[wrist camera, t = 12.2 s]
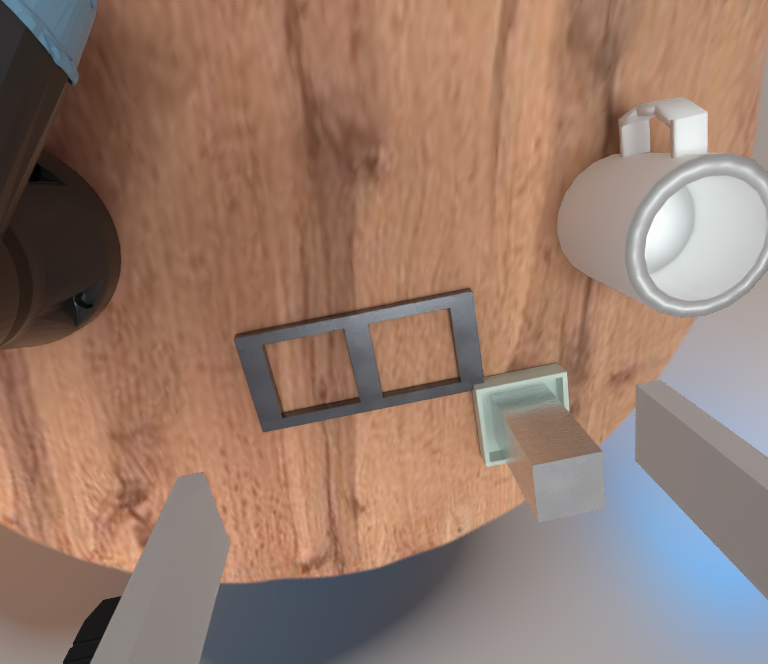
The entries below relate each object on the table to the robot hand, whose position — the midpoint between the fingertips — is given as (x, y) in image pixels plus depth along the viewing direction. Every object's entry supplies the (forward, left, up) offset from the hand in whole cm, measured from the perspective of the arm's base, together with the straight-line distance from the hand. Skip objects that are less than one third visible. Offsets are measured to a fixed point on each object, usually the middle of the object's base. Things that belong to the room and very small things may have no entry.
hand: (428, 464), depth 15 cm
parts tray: (+10, -16, -28) cm, 34 cm away
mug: (+20, +1, -28) cm, 35 cm away
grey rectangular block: (+10, -16, -27) cm, 33 cm away
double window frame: (-3, -8, -28) cm, 29 cm away
